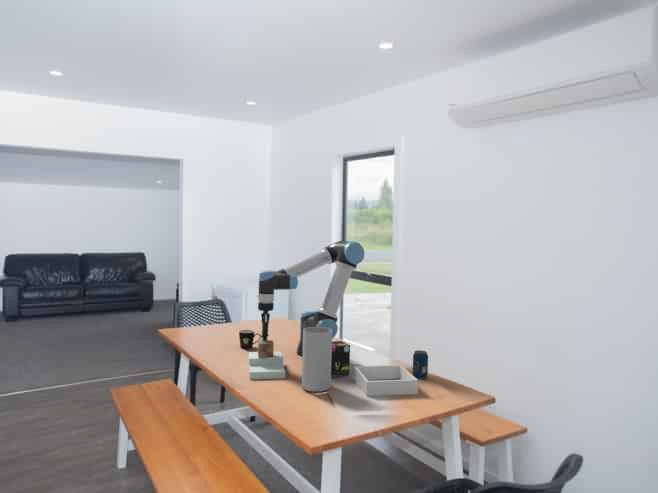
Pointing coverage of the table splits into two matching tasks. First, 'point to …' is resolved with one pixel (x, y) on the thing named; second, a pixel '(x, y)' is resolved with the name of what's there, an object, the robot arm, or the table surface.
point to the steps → (266, 366)
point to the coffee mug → (247, 338)
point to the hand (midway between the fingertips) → (264, 349)
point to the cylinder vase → (316, 359)
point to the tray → (386, 387)
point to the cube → (265, 349)
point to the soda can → (420, 364)
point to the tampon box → (340, 359)
